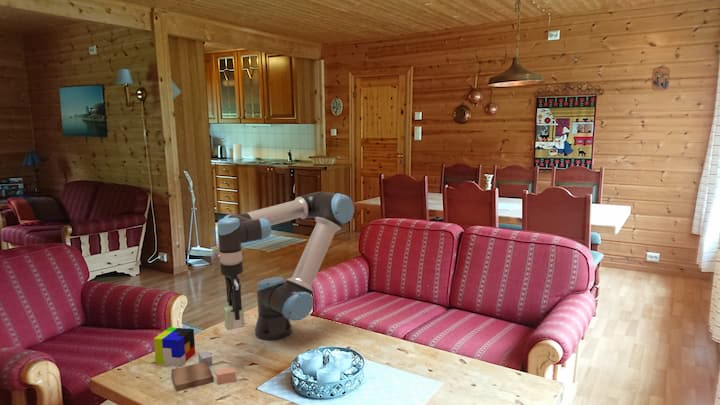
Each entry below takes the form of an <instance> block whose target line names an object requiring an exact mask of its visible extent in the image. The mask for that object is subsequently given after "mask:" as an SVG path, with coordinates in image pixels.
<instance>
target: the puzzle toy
mask: <svg viewBox="0 0 720 405" xmlns="http://www.w3.org/2000/svg"><path fill="white" fill-rule="evenodd" d="M153 345H154V354H155V357H154V358H155V365H161V364H162V365H163V366H171V365H172V366H174V367H183V365H184V364H185V363H187V362H188V361H189V360H190V359H191V358H192V357H193V356H194V355H195V354H196V343H195V331H194V329H193V328H186V327H185V328H184V327H173V326H172V327H171V326H170V327H167V329H165V330H164V331H163V332H161V333H159V334H158V335H157V336H155V337H154V338H153ZM189 358H190V359H189ZM188 359H189V360H188ZM187 360H188V361H187ZM172 366H171V367H172Z"/></svg>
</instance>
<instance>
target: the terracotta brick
mask: <svg viewBox="0 0 720 405" xmlns="http://www.w3.org/2000/svg"><path fill="white" fill-rule="evenodd" d="M215 371H216V372H215V374H216V381H217V382H216V384H217V385H221V384H227V383H232V382H236V381H237V378H236V377H237V376H236V375H237V374H236V368H235V367H234V366H233V367H226V368H222V369H221V368H220V369H217V370H215Z"/></svg>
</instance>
